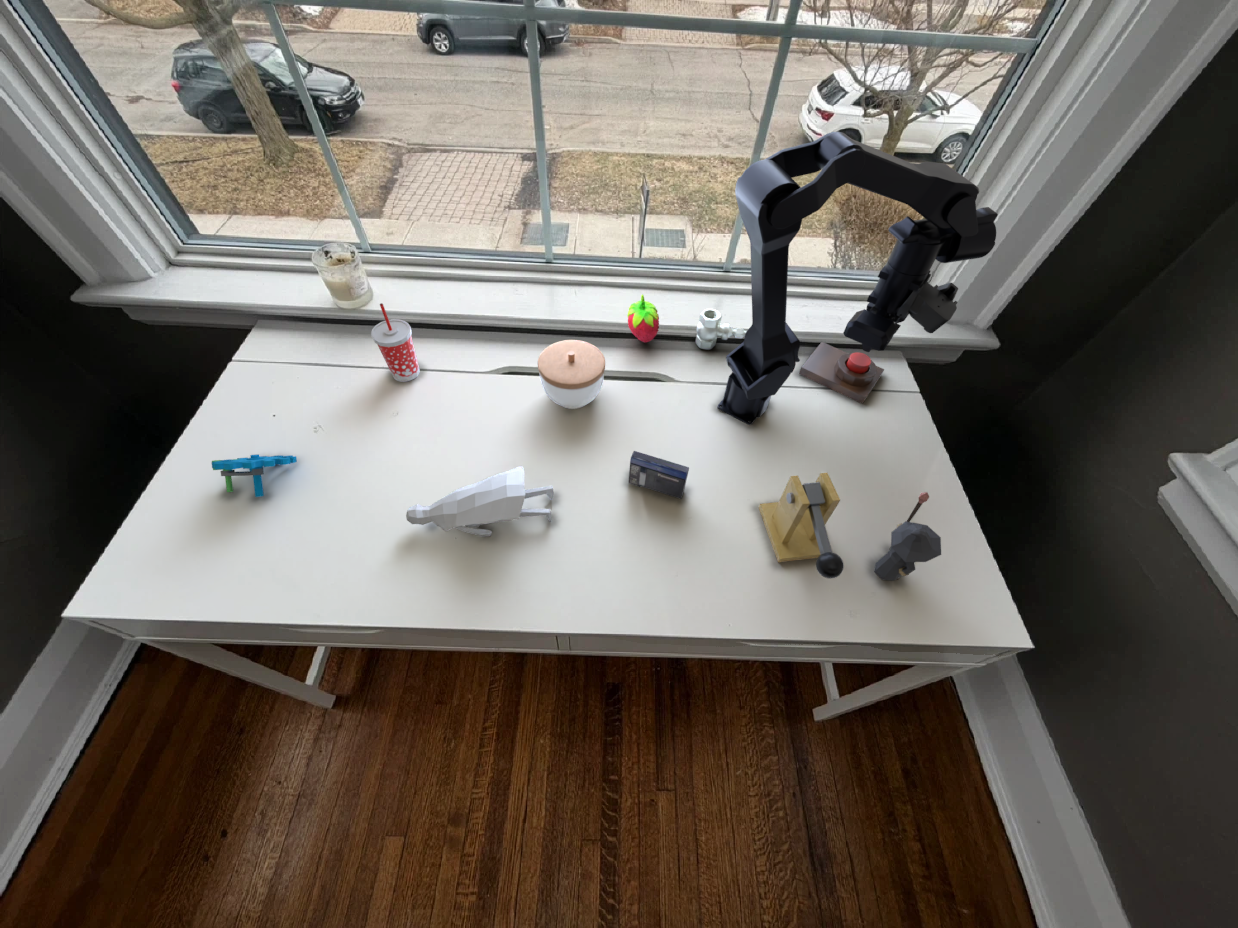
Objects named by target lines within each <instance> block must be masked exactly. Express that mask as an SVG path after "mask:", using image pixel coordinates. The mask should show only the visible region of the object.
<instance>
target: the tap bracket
mask: <svg viewBox="0 0 1238 928" xmlns="http://www.w3.org/2000/svg"><path fill="white" fill-rule="evenodd" d="M816 482H820V485H821V488H822V492H823V496H824V499H825V503H824V504H823V505H821V506H820V510H821V513H822V517H823V521H824V524H825V525H827V523H828V521H829V520H830V518H831V517H832V515H833V513H834V511H835V510H836V508H837V506H838V505H839V503H841V498H840V495H839V494H838V492H837V490H836V488H835V485H834V483H833V481H832V479H831V477H830V474H829V473H828V472H820V473H819V474H818V476H817V478H816V480H815V482H814V483H816ZM802 485H803V484H802V481H801V479H800V477H799V475H790V477H789V479H788V481H787V483H786V485H785V488H784V490H783V491H782V494H781V496H780V498H779V500H778V501H774V502H765V503H759V505H758V510H759V513H760V516H761V519H762V521H763V524H764V527H765V529H766V530H765V531H766V532H767V536H768V538H769V541H770V544H771V546H772V550H773V552H774V555H775V558H776V560H777V562H778V563H785V562H793V561H794V562H795V561H803V560H810V559H811V560H812V559H817V558H818V557H819V556H820V555H821V554H820V550H819V547H818V543H817V539H816V535H815V531H814V528H813V524H812V520H811V516H810V513H809V509H807V508H808V506H809V504H810V502H809V500H808V498H807V495H806V493H805V491H804V488H803V486H802Z"/></svg>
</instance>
